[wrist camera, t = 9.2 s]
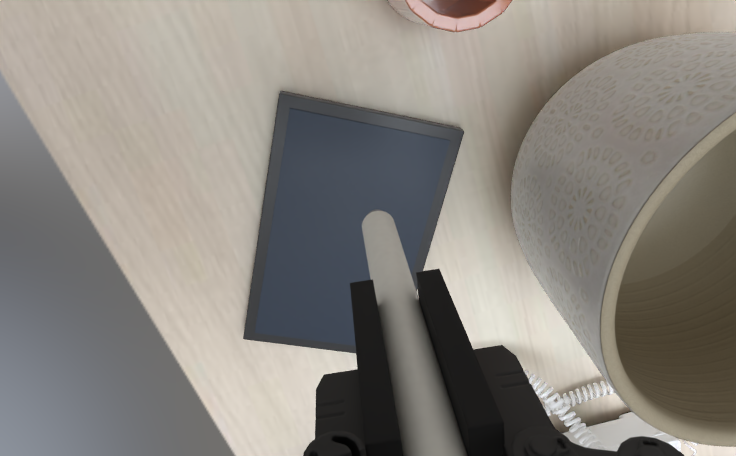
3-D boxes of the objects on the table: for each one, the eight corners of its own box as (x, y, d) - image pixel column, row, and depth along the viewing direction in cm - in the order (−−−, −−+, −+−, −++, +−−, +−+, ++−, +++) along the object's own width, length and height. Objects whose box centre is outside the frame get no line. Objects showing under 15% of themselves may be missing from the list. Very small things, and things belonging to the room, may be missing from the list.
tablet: (245, 331, 36) (243, 339, 35) (280, 90, 29) (279, 93, 28) (395, 350, 38) (397, 359, 37) (460, 127, 31) (464, 131, 30)
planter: (448, 89, 30) (556, 169, 16) (732, -29, 29) (1114, -52, 15) (519, 309, 37) (636, 496, 23) (749, 223, 36) (1019, 367, 22)
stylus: (357, 229, 24) (409, 581, 10) (364, 201, 24) (430, 528, 9) (388, 235, 24) (483, 585, 10) (395, 206, 24) (508, 533, 9)
